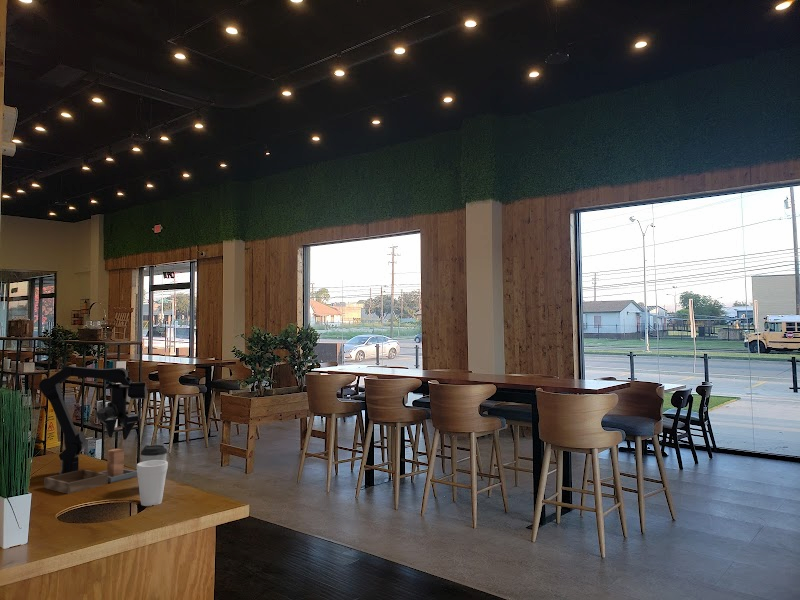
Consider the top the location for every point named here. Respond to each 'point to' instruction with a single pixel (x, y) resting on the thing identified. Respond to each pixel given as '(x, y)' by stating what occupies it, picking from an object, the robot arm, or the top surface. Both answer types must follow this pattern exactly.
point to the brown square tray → (75, 481)
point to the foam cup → (151, 481)
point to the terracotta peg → (115, 462)
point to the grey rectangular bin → (121, 476)
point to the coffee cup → (153, 453)
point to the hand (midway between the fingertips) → (117, 438)
